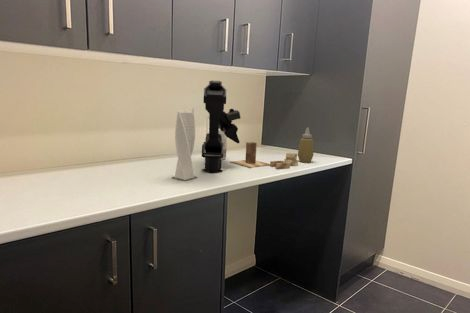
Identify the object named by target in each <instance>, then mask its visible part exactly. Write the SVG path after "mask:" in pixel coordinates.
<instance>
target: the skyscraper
mask: <svg viewBox="0 0 470 313" xmlns="http://www.w3.org/2000/svg"><path fill="white" fill-rule="evenodd" d="M194 109H195V107H194V106H193V105H192V106H191V111H190V109H181V111H180V109H178V110H177V114H176V121H175V129H174V130H175V131H174V140H175V141H174V142H175V149H176V155H177V162H176V167H175V172H174V173H175V174H174V176H171V179H175V180H177V181H183V182H186V181H190V180H194V179H198V176H196V175H195V174H194V167H193V160H192V159H193V158H192V154H193V152H194V147H195V140H196V123H195V122H196V120H195V113H194V111H195V110H194Z"/></svg>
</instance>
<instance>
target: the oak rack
mask: <svg viewBox="0 0 470 313" xmlns="http://www.w3.org/2000/svg"><path fill="white" fill-rule="evenodd" d="M269 162H270V163H269V164H270V165H269V167H270V168H271V167H272V168H275V170H283V169H284V170H285V169H290V168H291V166H290V163H284V160H270V161H269Z"/></svg>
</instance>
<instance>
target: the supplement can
mask: <svg viewBox="0 0 470 313" xmlns="http://www.w3.org/2000/svg"><path fill="white" fill-rule="evenodd" d="M219 134H221V138H222V143H223V158H221V161H222V160H223V161H224V160H225V159H226V158H227V144H228V143H227V142H228V137H227V136H226V135H225V134H224V133H223V131H221V130H220V129H219ZM221 153H222V151H221Z"/></svg>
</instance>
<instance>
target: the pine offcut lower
mask: <svg viewBox="0 0 470 313" xmlns="http://www.w3.org/2000/svg"><path fill="white" fill-rule="evenodd" d="M283 161H284V163H290V167H298V166H299V159H297V160H294V161H292V160H286V158H284V159H283Z"/></svg>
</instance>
